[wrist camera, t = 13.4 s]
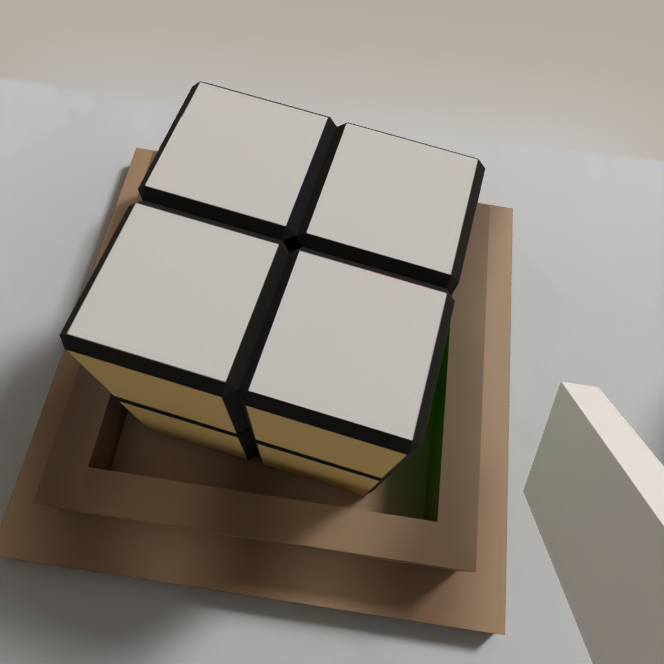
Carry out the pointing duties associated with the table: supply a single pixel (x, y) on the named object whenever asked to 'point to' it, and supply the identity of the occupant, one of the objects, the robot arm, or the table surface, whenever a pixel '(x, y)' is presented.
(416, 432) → the puzzle cube
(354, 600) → the docking cradle
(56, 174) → the table surface
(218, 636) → the table surface
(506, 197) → the table surface
